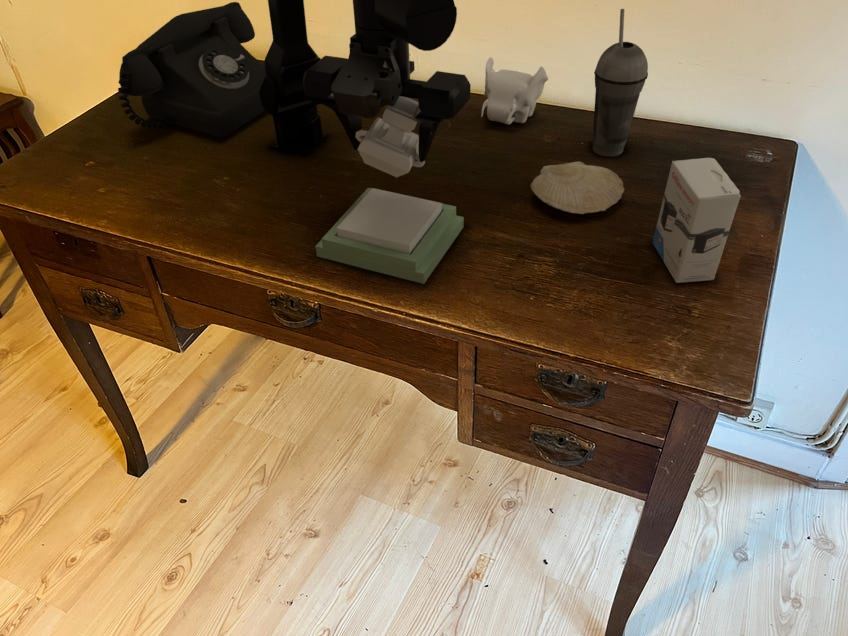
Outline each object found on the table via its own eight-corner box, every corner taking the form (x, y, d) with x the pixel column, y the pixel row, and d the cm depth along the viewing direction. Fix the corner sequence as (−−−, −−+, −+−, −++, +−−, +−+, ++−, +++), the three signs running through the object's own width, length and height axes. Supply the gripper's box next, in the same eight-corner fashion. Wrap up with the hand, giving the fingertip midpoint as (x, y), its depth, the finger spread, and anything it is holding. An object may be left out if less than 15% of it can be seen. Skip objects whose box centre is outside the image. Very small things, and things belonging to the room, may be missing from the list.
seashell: (596, 233, 95) (599, 214, 93) (515, 206, 100) (517, 188, 98) (631, 192, 101) (635, 173, 99) (554, 169, 106) (556, 151, 104)
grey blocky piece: (424, 165, 92) (448, 107, 86) (411, 193, 88) (435, 134, 82) (358, 135, 92) (377, 75, 86) (342, 162, 87) (361, 101, 81)
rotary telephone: (235, 69, 137) (218, -17, 126) (310, 87, 130) (298, -2, 119) (111, 140, 119) (79, 46, 108) (190, 165, 112) (164, 68, 101)
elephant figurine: (465, 128, 116) (466, 73, 110) (497, 98, 123) (500, 44, 117) (521, 141, 113) (525, 85, 106) (550, 109, 120) (556, 54, 114)
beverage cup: (633, 162, 107) (662, 20, 93) (582, 159, 108) (603, 18, 94) (632, 138, 112) (659, 0, 98) (583, 135, 113) (603, -2, 99)
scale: (316, 256, 94) (313, 237, 92) (363, 204, 102) (361, 185, 100) (424, 284, 89) (423, 264, 87) (463, 227, 97) (464, 207, 95)
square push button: (337, 238, 92) (336, 227, 91) (373, 197, 98) (372, 187, 97) (409, 255, 89) (409, 245, 88) (441, 213, 95) (441, 202, 94)
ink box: (650, 242, 93) (670, 158, 84) (688, 239, 93) (712, 155, 85) (674, 284, 87) (698, 198, 78) (715, 281, 87) (743, 194, 79)
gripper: (266, 38, 76) (289, 173, 87) (432, 60, 70) (434, 202, 81) (319, 2, 83) (334, 131, 94) (473, 20, 77) (470, 155, 88)
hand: (389, 154), depth 89 cm, fingers closed on grey blocky piece, 8 cm apart
